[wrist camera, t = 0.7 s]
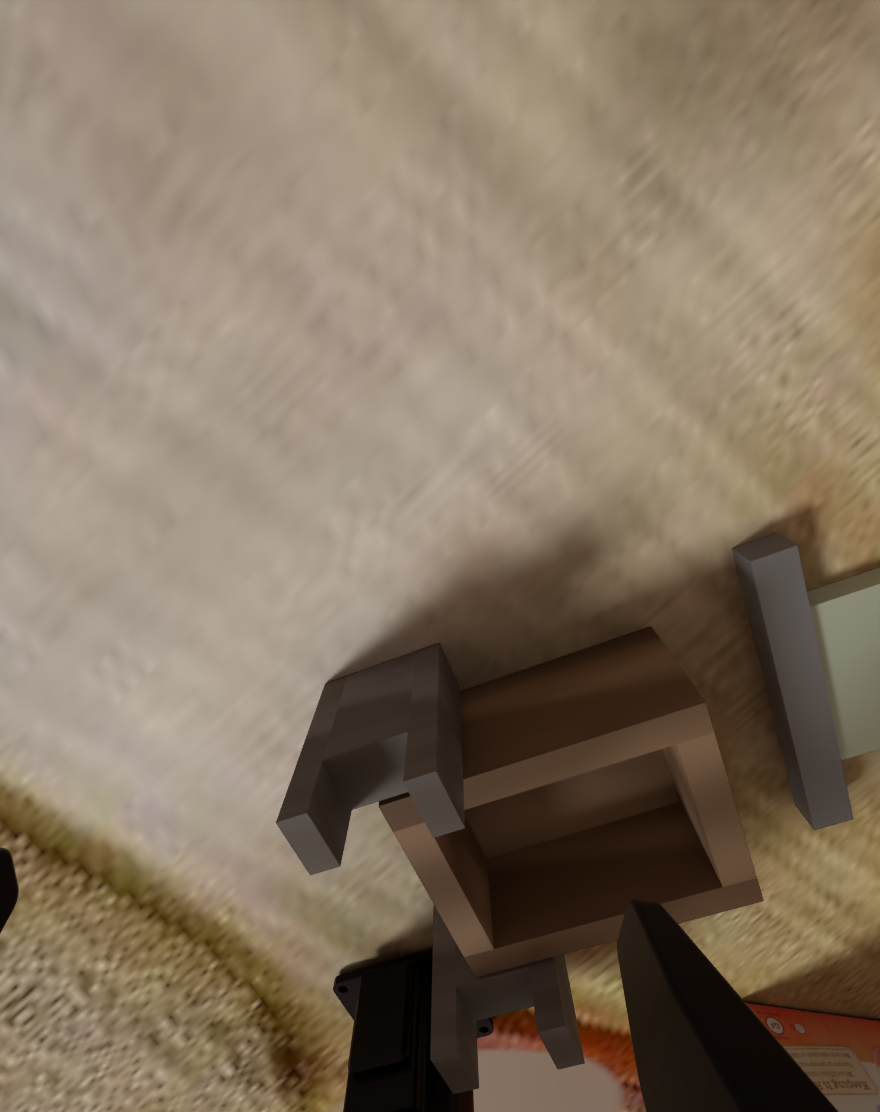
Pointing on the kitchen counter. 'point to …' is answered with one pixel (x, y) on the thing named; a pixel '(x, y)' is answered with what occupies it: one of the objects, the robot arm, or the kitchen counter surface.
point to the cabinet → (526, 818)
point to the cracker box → (831, 1053)
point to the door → (815, 669)
